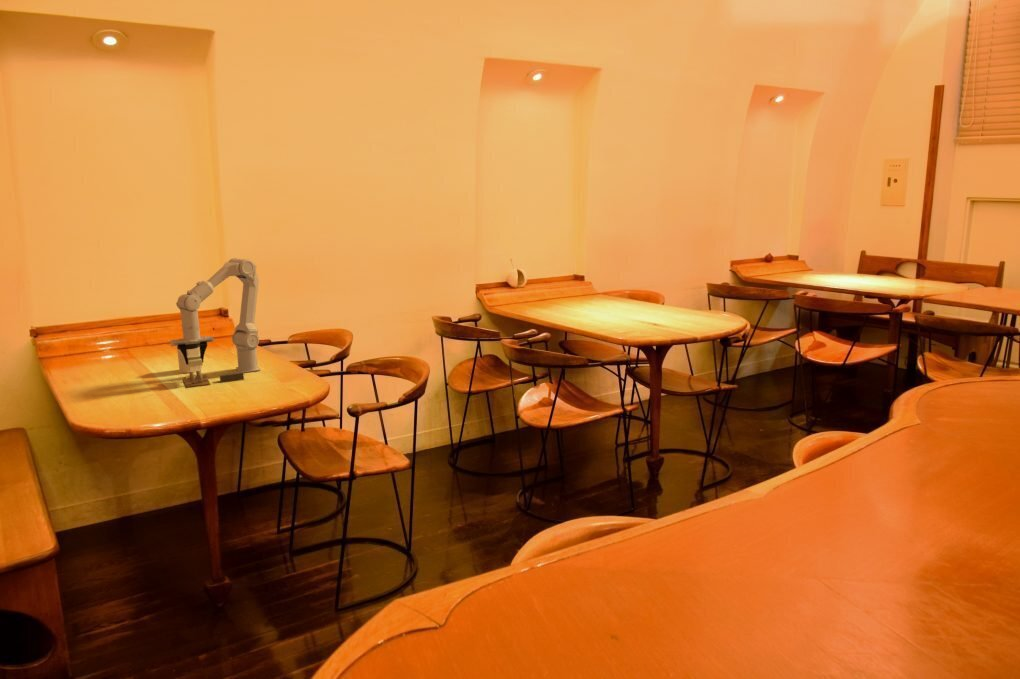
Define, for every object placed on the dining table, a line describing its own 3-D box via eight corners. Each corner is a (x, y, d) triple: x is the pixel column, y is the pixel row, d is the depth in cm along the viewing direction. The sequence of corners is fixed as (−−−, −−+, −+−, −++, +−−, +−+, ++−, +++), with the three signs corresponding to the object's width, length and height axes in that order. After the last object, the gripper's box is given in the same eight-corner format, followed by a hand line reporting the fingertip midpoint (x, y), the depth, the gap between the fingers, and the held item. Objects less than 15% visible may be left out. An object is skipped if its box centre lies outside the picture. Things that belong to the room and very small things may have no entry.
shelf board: (202, 365, 270) (202, 360, 269) (189, 366, 268) (188, 361, 267) (199, 360, 278) (199, 354, 278) (186, 361, 276) (186, 356, 276)
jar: (201, 372, 290) (198, 342, 287) (179, 374, 287) (175, 344, 285) (202, 367, 298) (199, 338, 296) (180, 369, 295) (177, 340, 293)
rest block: (220, 380, 276) (219, 374, 275) (242, 377, 280) (242, 371, 279) (221, 382, 273) (220, 376, 273) (243, 379, 277) (243, 373, 277)
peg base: (183, 379, 279) (182, 370, 278) (205, 376, 282) (204, 368, 282) (186, 387, 267) (185, 378, 266) (210, 384, 270) (209, 375, 270)
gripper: (170, 330, 263) (174, 367, 266) (213, 326, 270) (216, 362, 273) (168, 327, 269) (172, 363, 272) (210, 323, 276) (214, 359, 279)
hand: (194, 363), depth 273 cm, fingers closed on shelf board, 4 cm apart
